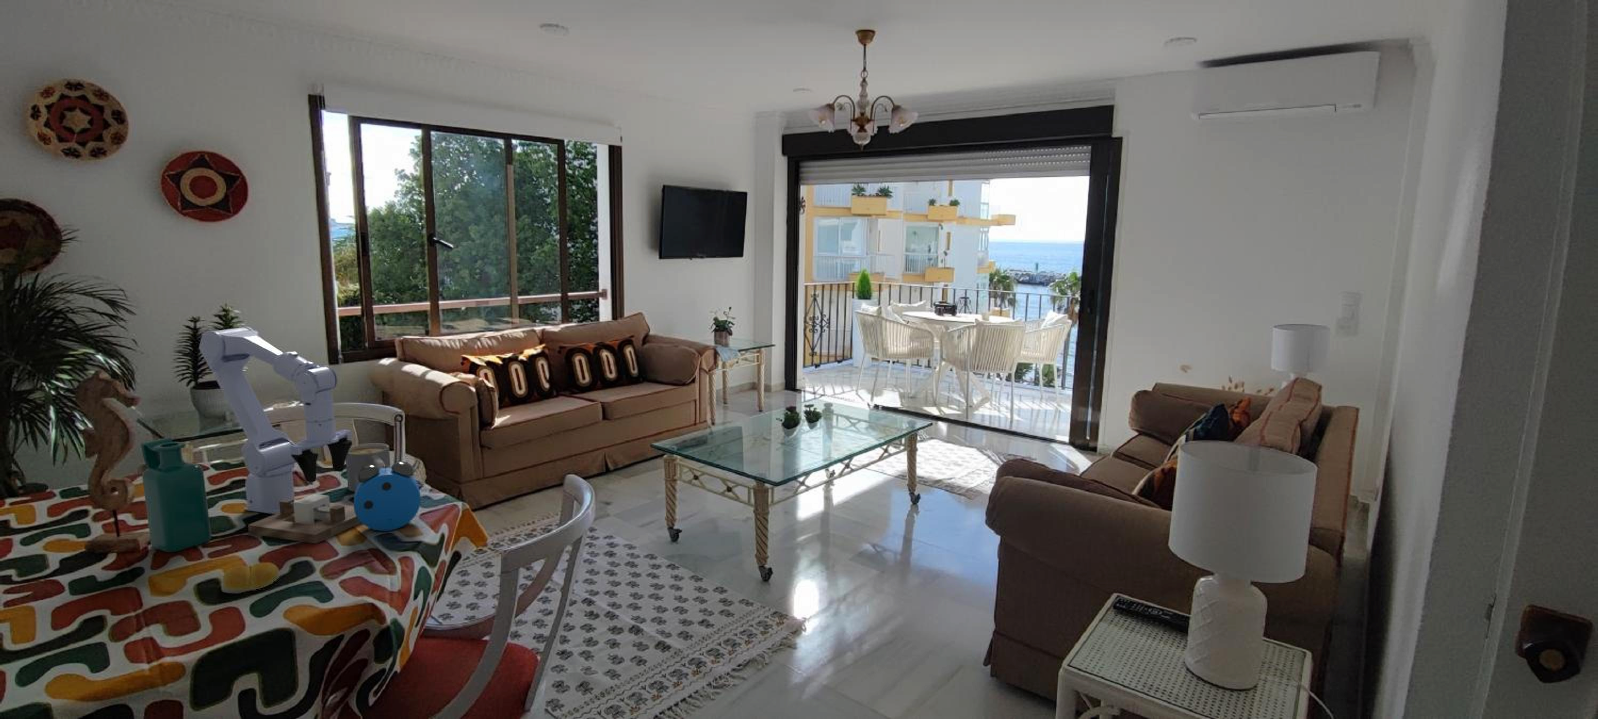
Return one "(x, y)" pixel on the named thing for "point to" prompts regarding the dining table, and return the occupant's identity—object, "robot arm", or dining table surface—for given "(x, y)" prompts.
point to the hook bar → (317, 509)
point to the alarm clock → (386, 496)
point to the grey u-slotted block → (310, 509)
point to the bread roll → (249, 577)
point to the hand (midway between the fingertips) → (325, 476)
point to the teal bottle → (174, 497)
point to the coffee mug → (365, 460)
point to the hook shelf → (288, 529)
